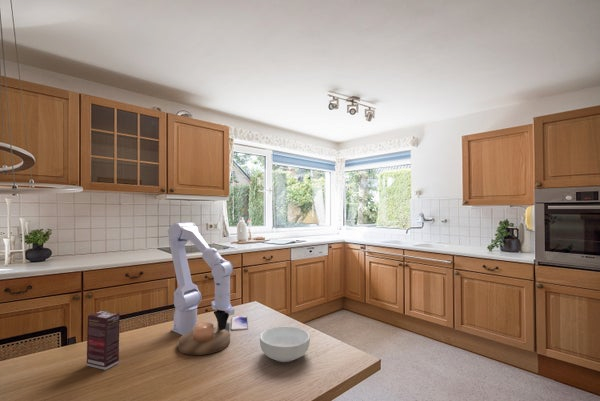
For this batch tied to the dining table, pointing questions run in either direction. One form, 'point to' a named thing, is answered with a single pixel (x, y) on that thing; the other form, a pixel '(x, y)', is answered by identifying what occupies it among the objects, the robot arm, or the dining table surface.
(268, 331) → the cereal bowl
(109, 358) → the supplement box
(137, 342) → the dining table surface
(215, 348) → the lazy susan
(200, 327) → the peach knob
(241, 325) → the smartphone
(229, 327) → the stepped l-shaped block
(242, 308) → the dining table surface
